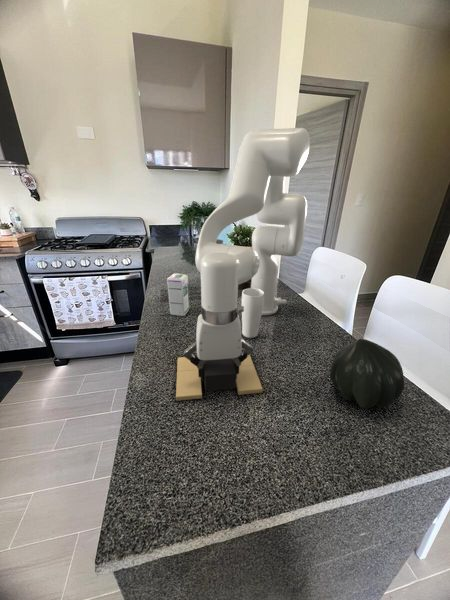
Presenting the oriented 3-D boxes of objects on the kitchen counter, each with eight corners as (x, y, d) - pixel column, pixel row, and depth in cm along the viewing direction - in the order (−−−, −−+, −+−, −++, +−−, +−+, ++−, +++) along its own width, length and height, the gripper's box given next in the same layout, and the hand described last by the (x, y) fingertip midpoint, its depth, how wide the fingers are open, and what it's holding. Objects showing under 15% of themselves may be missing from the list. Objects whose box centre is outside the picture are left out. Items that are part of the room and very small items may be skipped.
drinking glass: (246, 342, 78) (249, 298, 71) (235, 331, 83) (237, 290, 77) (264, 336, 81) (269, 294, 74) (252, 327, 86) (256, 286, 80)
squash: (432, 401, 51) (404, 329, 54) (372, 420, 47) (346, 341, 51) (378, 396, 64) (358, 338, 68) (328, 410, 60) (310, 348, 64)
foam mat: (248, 355, 72) (249, 352, 71) (262, 392, 59) (262, 388, 59) (177, 361, 69) (177, 357, 68) (176, 400, 56) (176, 396, 56)
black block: (230, 368, 65) (230, 354, 63) (235, 388, 58) (236, 373, 56) (203, 370, 64) (203, 356, 62) (205, 391, 57) (205, 376, 56)
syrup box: (184, 316, 92) (182, 279, 86) (169, 314, 93) (166, 277, 87) (189, 309, 97) (188, 274, 91) (175, 307, 98) (172, 272, 92)
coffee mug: (231, 287, 118) (232, 267, 114) (237, 281, 125) (238, 262, 121) (255, 291, 114) (257, 270, 110) (260, 285, 121) (262, 265, 117)
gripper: (254, 302, 58) (249, 363, 65) (178, 306, 55) (182, 369, 63) (263, 318, 51) (257, 384, 59) (177, 323, 49) (182, 391, 56)
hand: (218, 376), depth 61 cm, fingers closed on black block, 7 cm apart
